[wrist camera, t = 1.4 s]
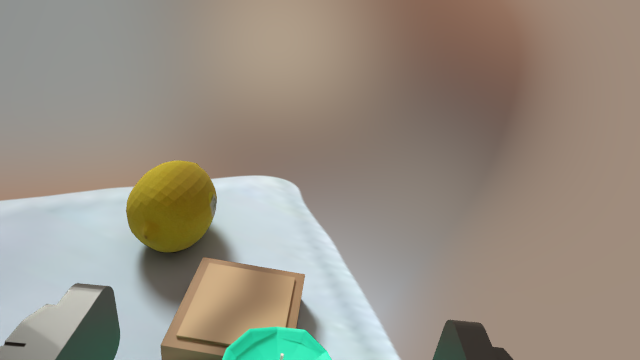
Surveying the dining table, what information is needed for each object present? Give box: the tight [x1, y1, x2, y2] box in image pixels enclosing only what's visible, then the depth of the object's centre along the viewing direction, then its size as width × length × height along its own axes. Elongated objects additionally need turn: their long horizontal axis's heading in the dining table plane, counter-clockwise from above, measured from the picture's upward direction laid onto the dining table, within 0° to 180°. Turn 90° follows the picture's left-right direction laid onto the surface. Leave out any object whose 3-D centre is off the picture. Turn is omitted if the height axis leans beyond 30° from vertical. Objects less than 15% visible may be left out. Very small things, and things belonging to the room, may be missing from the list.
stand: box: [161, 257, 305, 360], centre depth 33 cm, size 9×9×3 cm
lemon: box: [126, 161, 217, 252], centre depth 41 cm, size 11×8×8 cm
